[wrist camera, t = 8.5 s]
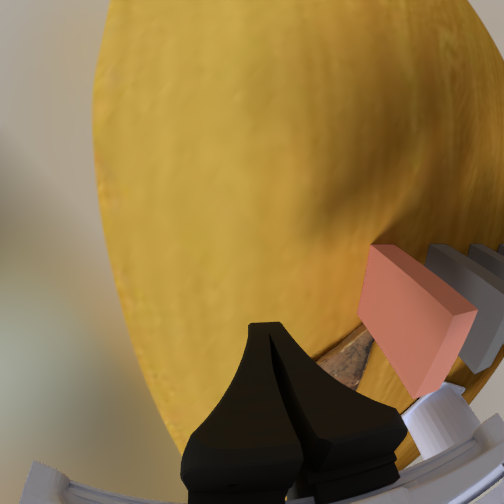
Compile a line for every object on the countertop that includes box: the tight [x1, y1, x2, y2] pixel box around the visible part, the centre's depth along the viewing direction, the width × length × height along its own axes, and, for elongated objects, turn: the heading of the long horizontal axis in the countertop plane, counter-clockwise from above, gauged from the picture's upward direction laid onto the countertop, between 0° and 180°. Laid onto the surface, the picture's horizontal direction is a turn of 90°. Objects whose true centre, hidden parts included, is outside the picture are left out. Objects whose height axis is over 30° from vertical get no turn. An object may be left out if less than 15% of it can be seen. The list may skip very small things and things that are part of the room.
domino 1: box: [424, 244, 504, 374], centre depth 14 cm, size 2×5×8 cm, turn 179°
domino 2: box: [467, 244, 504, 345], centre depth 14 cm, size 2×5×8 cm, turn 179°
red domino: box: [357, 244, 478, 399], centre depth 13 cm, size 2×5×8 cm, turn 179°
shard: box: [316, 323, 375, 391], centre depth 20 cm, size 11×8×2 cm
